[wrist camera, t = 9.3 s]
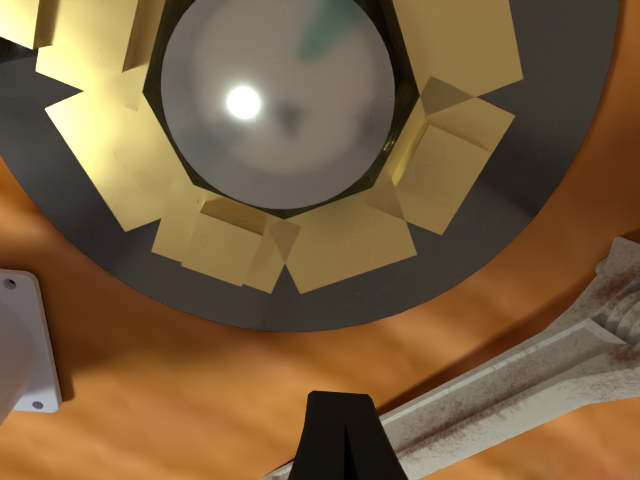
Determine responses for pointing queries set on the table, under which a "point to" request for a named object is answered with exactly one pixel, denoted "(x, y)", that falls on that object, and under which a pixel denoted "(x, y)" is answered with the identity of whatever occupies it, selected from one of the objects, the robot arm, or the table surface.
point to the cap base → (314, 146)
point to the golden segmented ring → (258, 222)
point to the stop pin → (14, 51)
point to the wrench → (529, 376)
